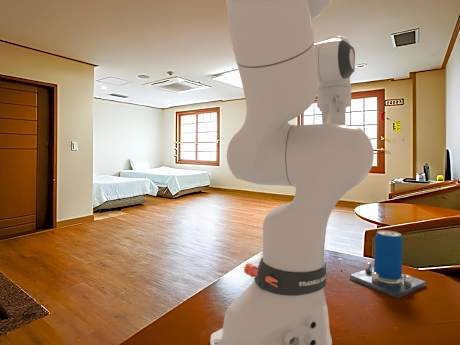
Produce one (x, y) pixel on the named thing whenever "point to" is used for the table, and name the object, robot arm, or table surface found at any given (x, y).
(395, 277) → the beverage can
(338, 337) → the table surface
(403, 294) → the plate
